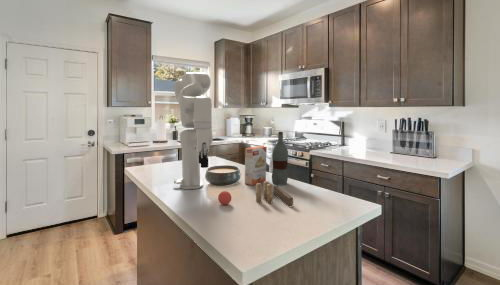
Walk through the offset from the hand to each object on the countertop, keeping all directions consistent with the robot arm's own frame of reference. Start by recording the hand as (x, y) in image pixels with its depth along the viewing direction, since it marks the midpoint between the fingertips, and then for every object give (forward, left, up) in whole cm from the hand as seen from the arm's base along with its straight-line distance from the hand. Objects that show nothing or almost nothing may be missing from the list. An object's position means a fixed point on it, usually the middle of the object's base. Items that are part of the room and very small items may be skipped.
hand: (203, 165), depth 124 cm
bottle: (+46, +28, -19) cm, 57 cm away
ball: (+9, 0, -15) cm, 18 cm away
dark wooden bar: (+37, 0, -18) cm, 42 cm away
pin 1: (+30, +3, -18) cm, 35 cm away
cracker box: (+33, +33, -19) cm, 51 cm away
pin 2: (+30, -2, -18) cm, 35 cm away
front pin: (+25, 0, -18) cm, 31 cm away
